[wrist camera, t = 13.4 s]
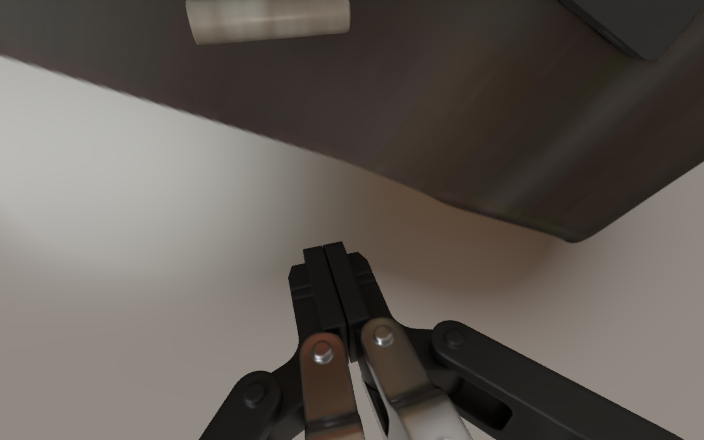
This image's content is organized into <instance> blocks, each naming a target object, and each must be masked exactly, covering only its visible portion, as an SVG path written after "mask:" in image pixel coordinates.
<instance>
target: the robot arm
mask: <svg viewBox="0 0 704 440" xmlns="http://www.w3.org/2000/svg"><path fill="white" fill-rule="evenodd" d="M303 254H304V260H305V263H304V264H299V265H295V266H292V267H291V271H290V274H289V277H288V280H289V285H290V291H291V296H292V302H293V308H294V313H295V319H296V324H297V330H298V336H299V344H298V348H297V350H296V352H295V354H294V356H293V357H292V358H291V359H290V360H289V361H288V362H287V363H286V364H284V365H283V366H281V367H280V368H278V369H277V370H275V371H273V372H272V373H270V372H267V371H255V372H251V373H249V374H247V375H245V376H244V377H242V378H241V379H240V380H239V381H238V382H237V383H236V385H235V386H234V387H233V389H232V390H231V392H230V393H229V395H228V396H227V398H226V400H225V401H224V403H223V404H222V406H221V407H220V408H219V410H218V412H217V413H216V415H215V416H214V417H213V419H212V420H211V422H210V423H209V425H208V427H207V428H206V430H205V431H204V433H203V434H202V436H201V437H200V439H199V440H292V438H294V437H295V436H296V435H298V434H299V433H301V432H302V431H303V430H305V440H365V436H364V431H363V427H362V423H361V419H360V416H359V414H358V410H357V405H356V400H355V395H354V391H353V385H352V380H351V376H350V371H349V366H348V364H349V359H350V362H351V363H353V362H356V361H358V364H359V366H360V370H361V375H362V384H363V387H364V389H365V392H366V394H367V397H368V400H369V402H370V405H371V407H372V410H373V412H374V415H375V418H376V420H377V423H378V425H379V428H380V430H381V433H382V436H383V438H384V440H473V438H472V437H471V435H470V433H469V431H468V430H467V428H466V426H465V425H464V423H463V421H462V419H461V417H462V418H464V419H465V420H467V421H469V422H470V423H472V424H473V425H475V426H476V427H478V428H479V429H481V430H482V431H484V432H485V433H487V434H488V435H490V436H491V437H493V438H495V439H496V440H683V439H682V438H680V437H678V436H676V435H675V434H673V433H671V432H669V431H667V430H665V429H664V428H661V427H660V426H658V425H656V424H654V423H652V422H650V421H648V420H646V419H644V418H642V417H641V416H639V415H637V414H635V413H633V412H631V411H629V410H627V409H625V408H623V407H621V406H620V405H618V404H616V403H614V402H612V401H610V400H608V399H606V398H604V397H602V396H600V395H598V394H597V393H595V392H593V391H591V390H589V389H587V388H585V387H583V386H581V385H579V384H577V383H576V382H574V381H572V380H570V379H568V378H566V377H564V376H562V375H560V374H558V373H556V372H555V371H553V370H550V369H549V368H546V367H545V366H543V365H541V364H539V363H537V362H535V361H533V360H532V359H530V358H527V357H526V356H524V355H522V354H520V353H518V352H516V351H514V350H512V349H511V348H509V347H507V346H505V345H503V344H501V343H499V342H497V341H495V340H493V339H491V338H489V337H487V336H486V335H484V334H481V333H480V332H478V331H476V330H474V329H472V328H470V327H468V326H467V325H465V324H463V323H460V322H458V321H452V320H448V321H443V322H440V323H438V324H437V325H436V326H435V327H434V329H433V330H430V329H414V328H409V327H406V326H403V325H402V324H400V323H399V322H397V321H396V320H395V319H394V318H393V316H392V315H391V313H390V311H389V309H388V306H387V304H386V302H385V300H384V297H383V295H382V293H381V291H380V288H379V286H378V284H377V282H376V279H375V277H374V275H373V273H372V270H371V268H370V265H369V263H368V261H367V259H365V258H364V257H363V256H362V255H361V254H360V253H359V252H355V253H350V254H347V253H346V250H345V248H344V245H343V243H342V241H341V242H336V243H331V244H326V245H323V247H322V246H317V247H312V248H307V249H303ZM348 355H349V357H348ZM460 416H461V417H460Z"/></svg>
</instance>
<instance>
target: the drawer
mask: <svg viewBox="0 0 704 440" xmlns="http://www.w3.org/2000/svg"><path fill="white" fill-rule="evenodd" d="M186 11H187V15H188V20H189V24H190V27H191V31H192V34H193V37H194V39H195V41H196V43H197V45H212V44H223V43H235V42H246V41H258V40H269V39H281V38H293V37H304V36H316V35H327V34H339V33H347V32H348V31H349V28H350V20H351V12H350V3H349V0H186Z"/></svg>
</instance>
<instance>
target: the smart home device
mask: <svg viewBox="0 0 704 440" xmlns="http://www.w3.org/2000/svg"><path fill="white" fill-rule="evenodd" d="M558 1H560V2H561V3H562V4H563V5H565V6H566V7H567V8H568V9H570V10H571V11H572V12H574V13H575V14H576V15H577V16H579V17H580V18H581V19H582V20H584V21H585V22H586V23H588V24H589V25H590V26H591V27H593V28H594V29H595V30H596V31H598V32H599V33H600V34H601V35H603V36H604V37H605V38H607V39H608V40H609V41H610V42H612V43H613V44H614V45H615V46H617V47H618V48H619V49H621V50H622V51H623V52H624V53H626V54H627V55H629V56H632V57H636V58H639V59H643V60H646V61H651V62H653V61H656V60H657V59H658V58H659V57H660V56H661V55H662V54H663V53H664V52H665V51H666V49H667V48H668V47H669V46H670V45H671V43H672V42H673V41H674V40H675V39H676V37H677V36H678V35H679V34H680V33H681V31H682V30H683V29H684V28H685V27H686V25H687V24H688V23H689V22H690V21H691V20H692V18H693V17H694V16H695V15H696V14H697V12H698V11H699V10H700V9H701V8H702V6H703V5H704V0H558Z"/></svg>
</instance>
